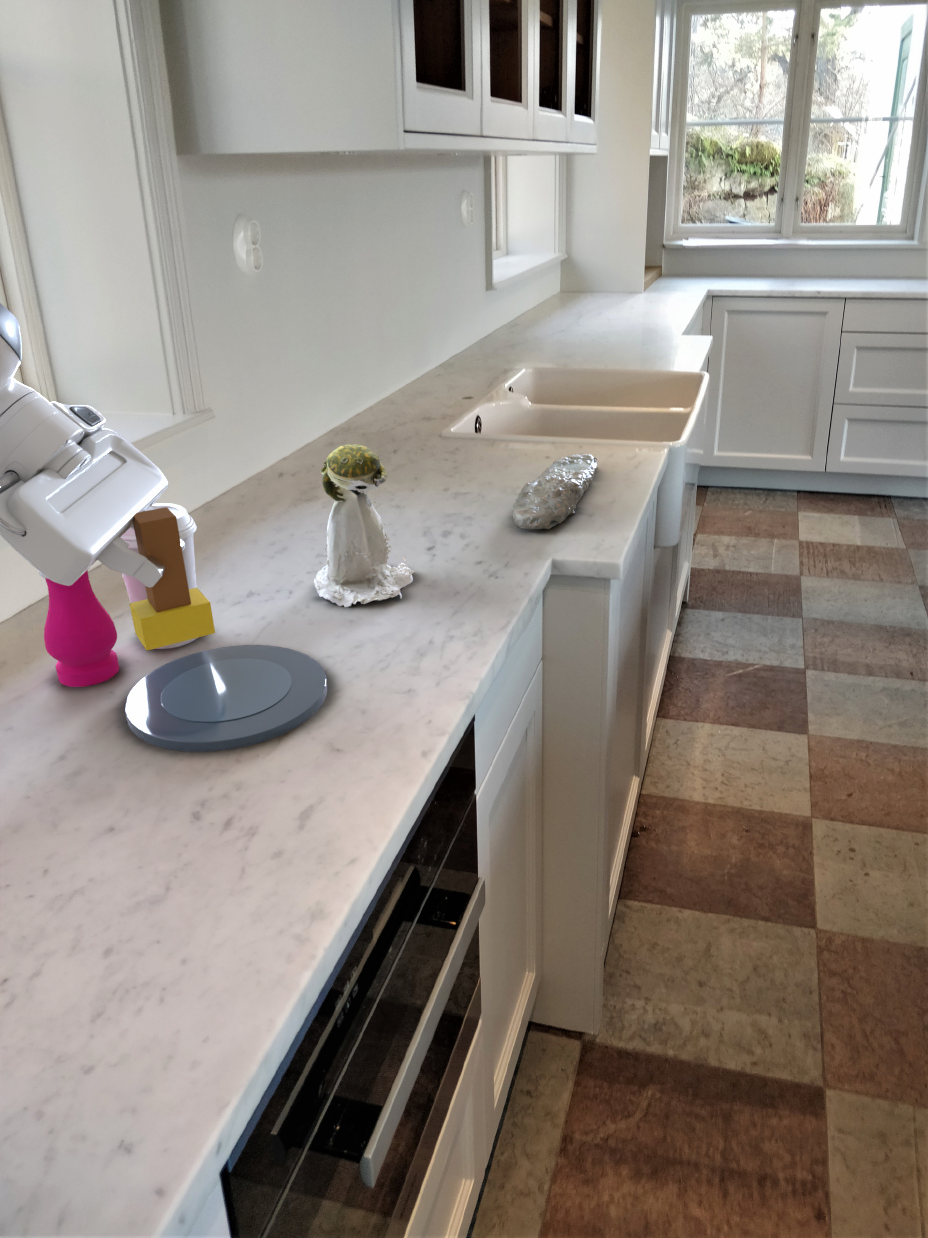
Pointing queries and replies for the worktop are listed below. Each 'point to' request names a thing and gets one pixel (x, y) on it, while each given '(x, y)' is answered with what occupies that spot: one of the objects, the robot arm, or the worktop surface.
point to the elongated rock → (554, 492)
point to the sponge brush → (167, 587)
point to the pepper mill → (79, 634)
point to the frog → (356, 532)
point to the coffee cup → (186, 535)
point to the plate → (226, 698)
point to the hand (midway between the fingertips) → (169, 566)
